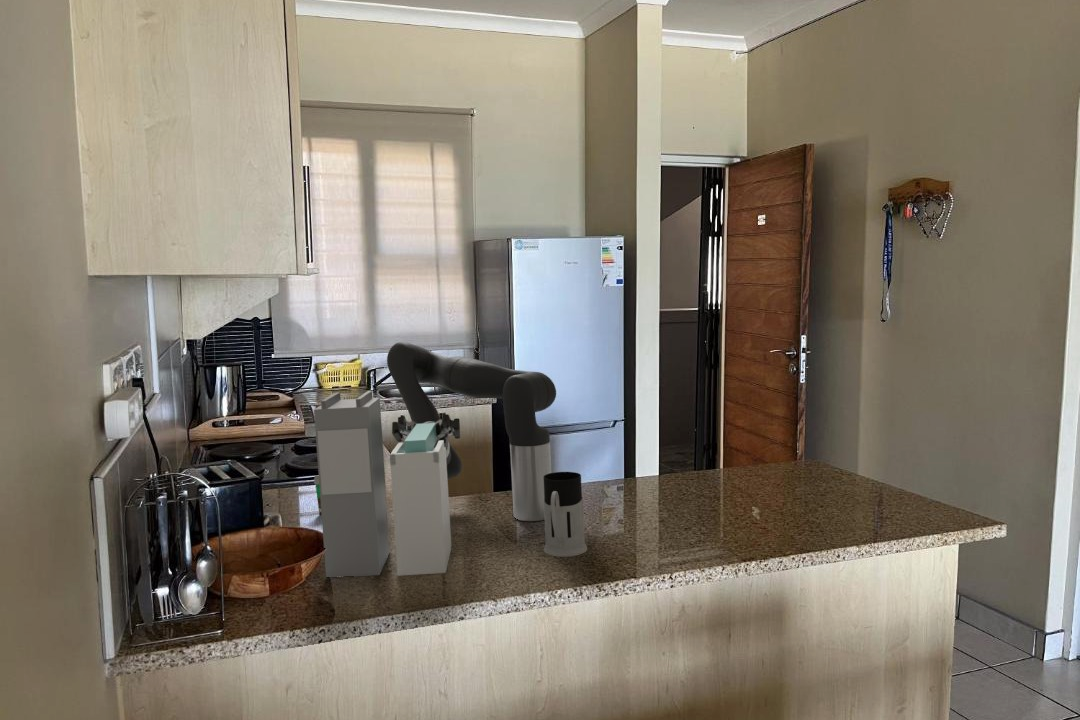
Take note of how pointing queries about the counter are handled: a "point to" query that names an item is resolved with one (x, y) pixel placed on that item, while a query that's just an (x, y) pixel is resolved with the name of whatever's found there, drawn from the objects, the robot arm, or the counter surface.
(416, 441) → the teal square bar
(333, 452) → the tall grey pillar
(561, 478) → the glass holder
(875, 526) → the counter surface
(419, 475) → the white open box
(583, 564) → the counter surface
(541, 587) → the counter surface
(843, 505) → the counter surface
